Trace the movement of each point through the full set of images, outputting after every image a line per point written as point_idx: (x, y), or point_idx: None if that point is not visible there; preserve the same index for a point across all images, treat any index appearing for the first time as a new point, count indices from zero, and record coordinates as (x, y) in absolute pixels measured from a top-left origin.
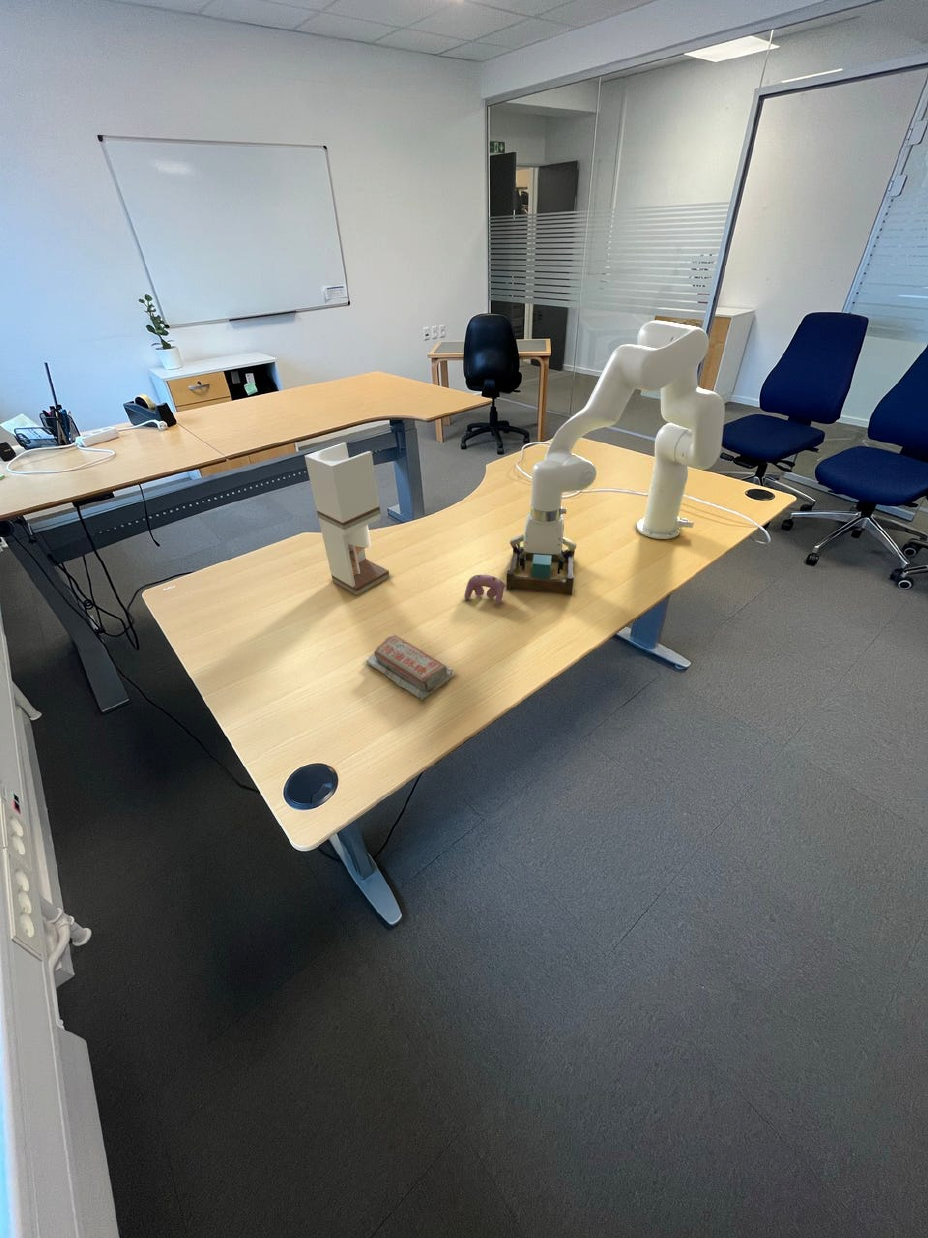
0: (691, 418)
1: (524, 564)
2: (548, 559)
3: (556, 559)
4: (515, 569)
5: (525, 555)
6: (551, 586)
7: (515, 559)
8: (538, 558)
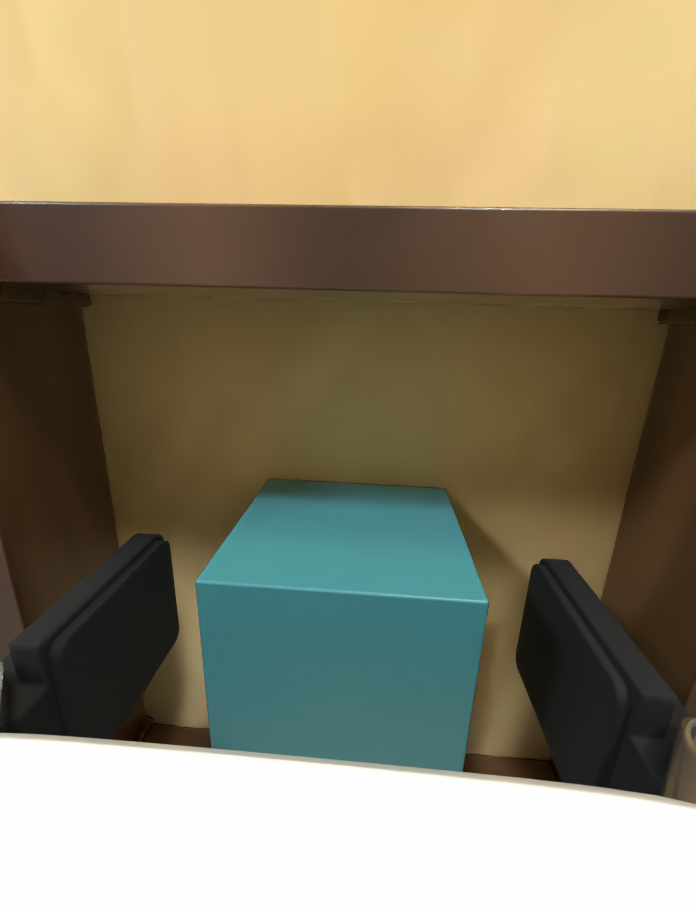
0: None
1: (135, 701)
2: (432, 704)
3: (539, 304)
4: (96, 564)
5: (68, 695)
6: None
7: (3, 580)
8: (282, 682)
